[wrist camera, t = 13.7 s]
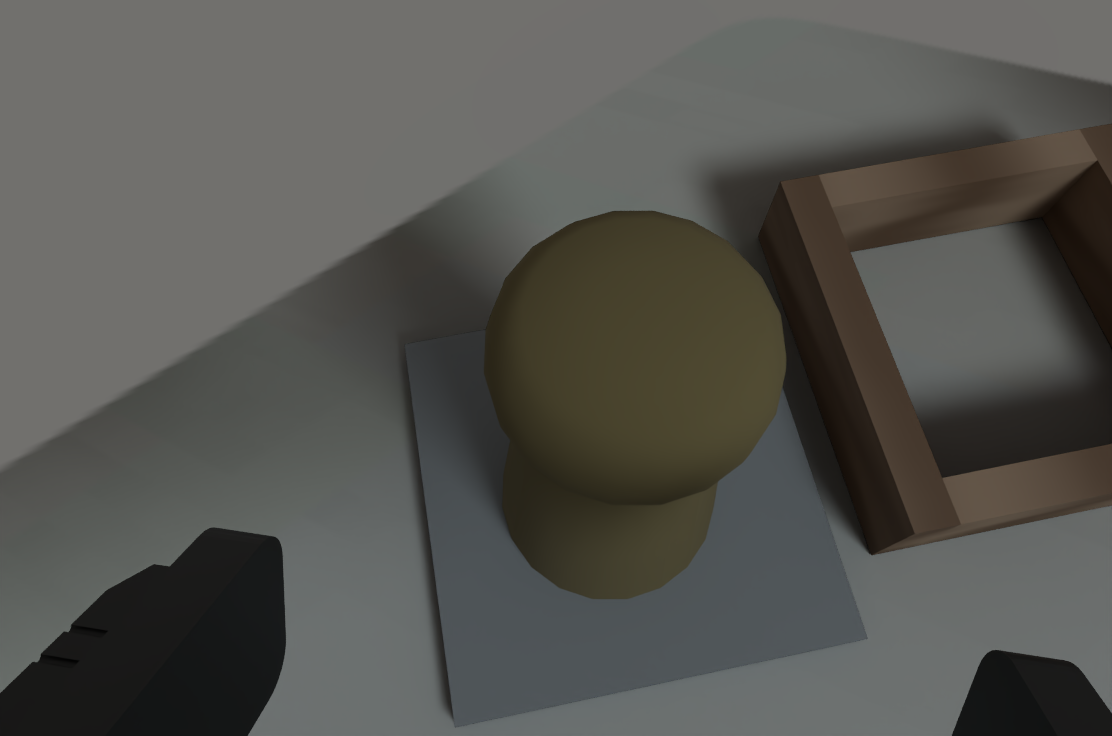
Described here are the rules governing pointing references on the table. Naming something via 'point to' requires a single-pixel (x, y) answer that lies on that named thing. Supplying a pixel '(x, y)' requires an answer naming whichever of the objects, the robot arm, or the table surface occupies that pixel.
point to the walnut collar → (863, 353)
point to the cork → (627, 395)
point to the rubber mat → (611, 624)
